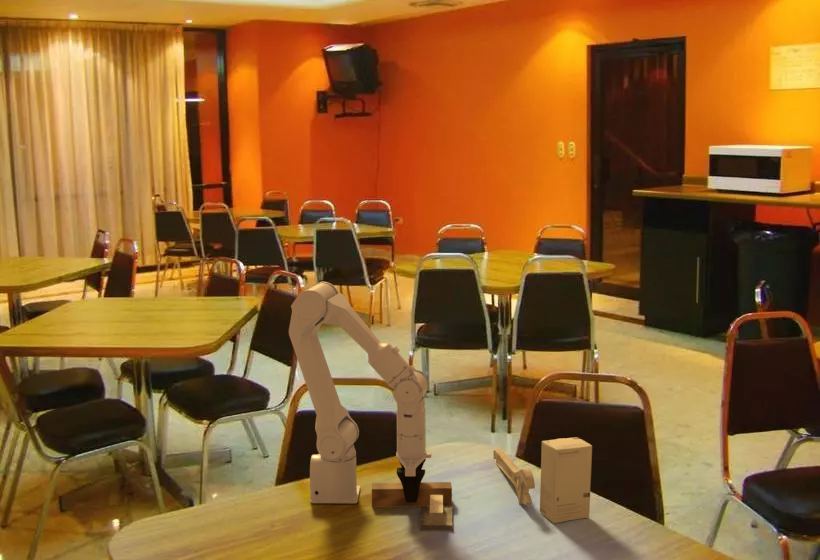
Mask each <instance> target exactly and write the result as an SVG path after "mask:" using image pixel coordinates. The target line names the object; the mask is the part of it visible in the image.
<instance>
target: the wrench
mask: <svg viewBox="0 0 820 560" xmlns="http://www.w3.org/2000/svg"><path fill="white" fill-rule="evenodd" d="M492 457H493V460H494V459H496V463H497V464H496V463H495V464H496V466H497V467H498V468H499V469H500V470H501V471H502V473H504V475H505V476H506V477H507V478H508V480H509V481H510V482H511V483H512V484H513V486H514V489H515V491H516V492H515V493H516V495H517V499H518V504H521V505H524V506H530V505H531V504H532V503H533V500H532V496H531V495H530V493H529V492H530V490H532V489H535V487H536V483H535V478H534V475H533V471H532V469H530V468H521V469H520V468H518V466H517V465H516V464H515V463H514V461H513V460H511V458H510V457H509V456H508V455H507V454H506V452H505V451H504V450H503V449H501V448H499V449H494V450H493V456H492Z"/></svg>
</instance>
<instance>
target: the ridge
mask: <svg viewBox="0 0 820 560" xmlns="http://www.w3.org/2000/svg"><path fill="white" fill-rule="evenodd" d="M420 507H421V508H420V523H419V524H420V527H419V528H420V531H453V510H452V509H453V506H443V495H430V506H420Z"/></svg>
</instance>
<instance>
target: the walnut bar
mask: <svg viewBox="0 0 820 560" xmlns="http://www.w3.org/2000/svg"><path fill="white" fill-rule="evenodd" d="M452 491H453V487H452V482H451V481H435V482H434V481H433V482H432V481H431V482H426V481H425V482H423V481H421V483H420V487H419V493H418V499H417V502H416V503H409V502H406V500H405V496H404V491H403V486H402V483H401V482H375V483H374V482H372V483H371V507H372V508H374V507H375V508H377V507H378V508H381V507H382V508H386V507H387V508H388V507H393V508H394V507H430V495H443V507H453V492H452Z"/></svg>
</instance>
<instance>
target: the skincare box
mask: <svg viewBox="0 0 820 560" xmlns="http://www.w3.org/2000/svg"><path fill="white" fill-rule="evenodd" d="M592 456H593V445H591V443H588V442H587V441H585V440H584V439H581V438H579V437H576V436H575V437H567V438H564V437H563V438H556V439H549V440H548V439H547V440H542V441H541V456H540V457H541V458H540V459H541V462H540V463H541V464H540V487H539V489H540V490H539V491H540V492H539V512H540V513H541V515H543V516H544V517H545V518H546V519H547V520H548V521H550V523H552V524H554V525H555V524H558V523H562V522H569V520H570V521H575V520H581V519H588V518H590V508H591V506H590V505H591V484H592V483H591V479H592V459H593V458H592Z"/></svg>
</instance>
